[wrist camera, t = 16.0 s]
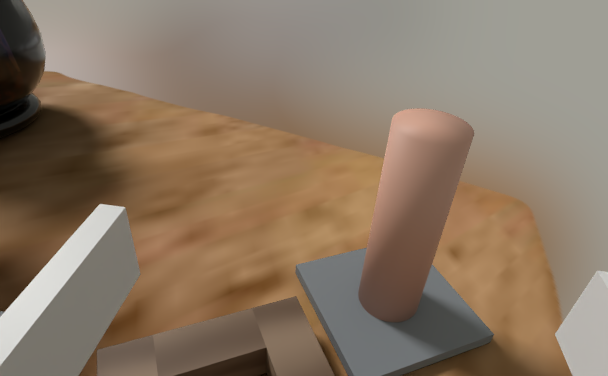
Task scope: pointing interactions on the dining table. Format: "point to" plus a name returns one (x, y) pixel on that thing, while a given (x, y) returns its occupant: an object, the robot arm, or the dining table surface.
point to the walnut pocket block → (225, 347)
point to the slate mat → (388, 335)
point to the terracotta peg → (411, 209)
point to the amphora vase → (19, 66)
